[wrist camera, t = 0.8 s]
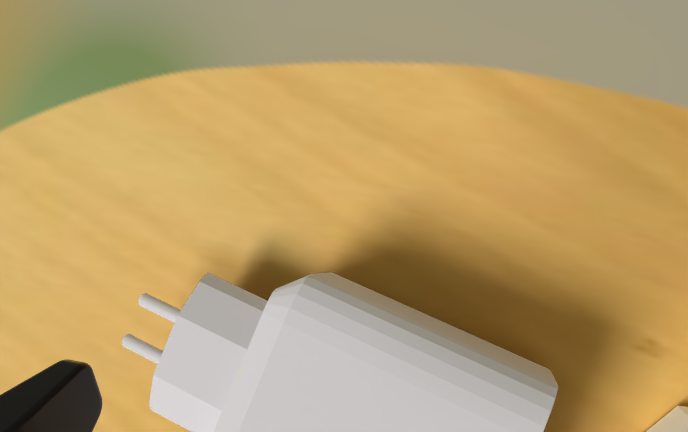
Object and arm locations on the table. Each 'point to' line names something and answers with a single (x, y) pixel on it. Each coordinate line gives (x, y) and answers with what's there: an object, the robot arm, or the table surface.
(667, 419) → the pepper shaker
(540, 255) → the table surface
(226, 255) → the table surface
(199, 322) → the charger
